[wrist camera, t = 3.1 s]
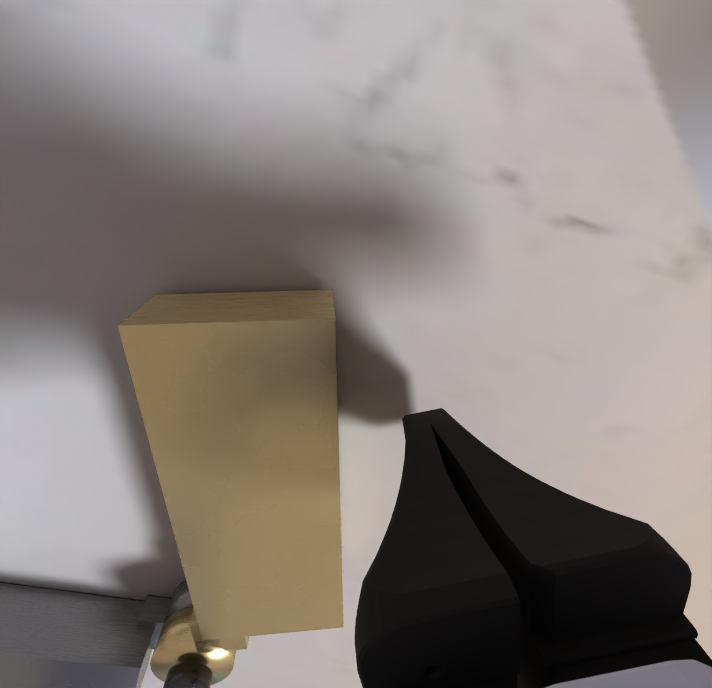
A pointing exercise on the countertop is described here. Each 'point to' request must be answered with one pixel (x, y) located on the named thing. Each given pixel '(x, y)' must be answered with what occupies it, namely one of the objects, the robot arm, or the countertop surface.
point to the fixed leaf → (86, 639)
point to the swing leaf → (243, 463)
